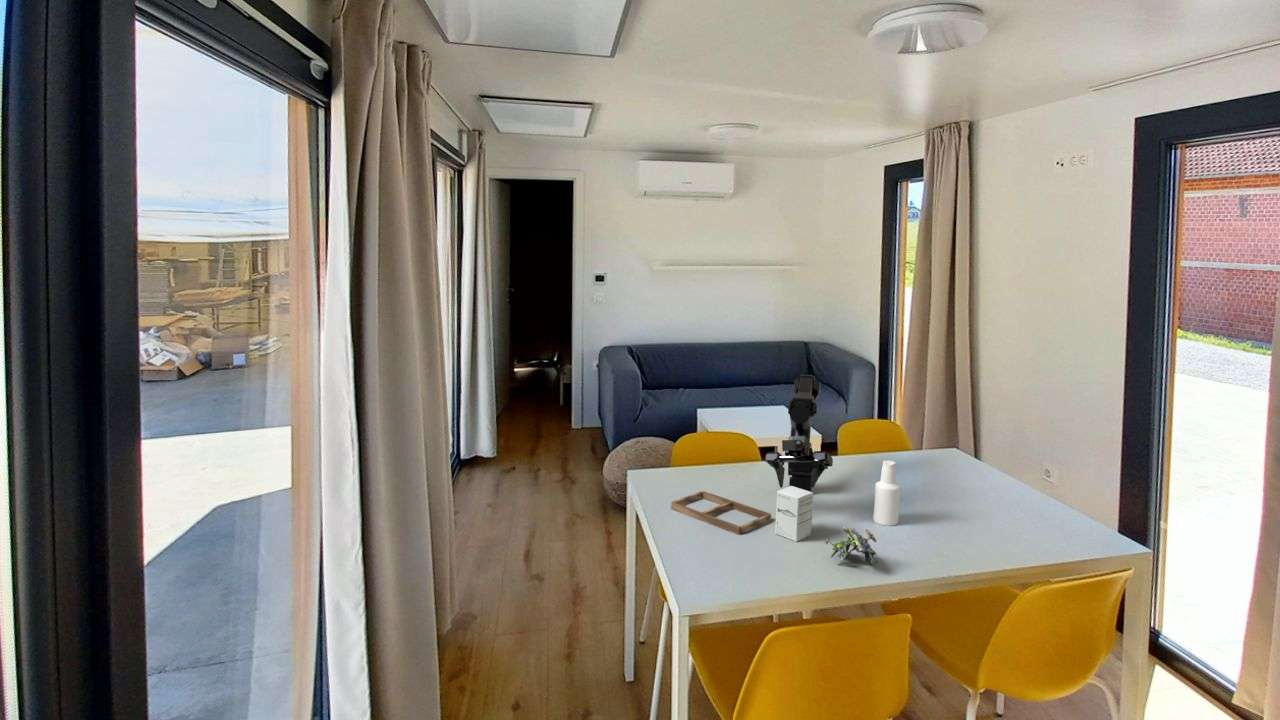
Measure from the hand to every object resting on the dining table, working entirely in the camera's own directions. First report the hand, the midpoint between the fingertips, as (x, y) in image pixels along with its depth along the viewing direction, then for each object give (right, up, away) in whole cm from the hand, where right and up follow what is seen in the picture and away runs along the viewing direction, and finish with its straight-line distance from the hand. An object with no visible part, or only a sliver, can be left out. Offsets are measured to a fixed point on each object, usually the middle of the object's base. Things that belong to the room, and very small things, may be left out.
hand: (796, 487), depth 197 cm
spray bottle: (+27, -11, +3) cm, 29 cm away
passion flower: (+9, -15, -24) cm, 29 cm away
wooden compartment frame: (-21, -10, +8) cm, 24 cm away
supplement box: (-2, -12, -6) cm, 14 cm away
